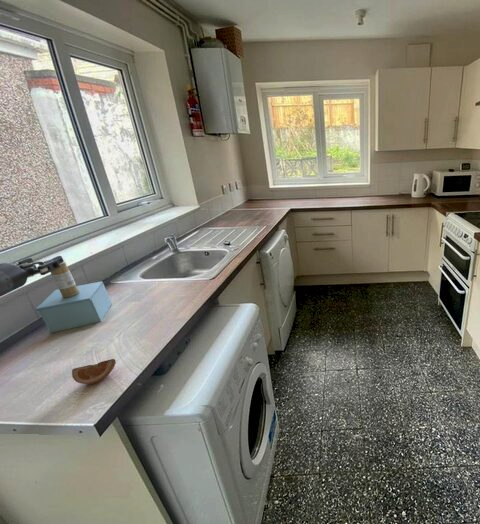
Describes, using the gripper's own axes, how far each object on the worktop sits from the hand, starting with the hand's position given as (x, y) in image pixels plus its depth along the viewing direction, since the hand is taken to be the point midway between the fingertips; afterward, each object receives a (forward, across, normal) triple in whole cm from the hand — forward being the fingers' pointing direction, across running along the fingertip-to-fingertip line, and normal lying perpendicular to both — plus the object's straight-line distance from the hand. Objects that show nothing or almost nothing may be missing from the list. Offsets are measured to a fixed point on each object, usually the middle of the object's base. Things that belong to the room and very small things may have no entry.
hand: (46, 259), depth 90 cm
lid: (+3, 0, +15) cm, 15 cm away
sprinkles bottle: (+2, 0, +14) cm, 14 cm away
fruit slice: (-31, -27, +24) cm, 47 cm away
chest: (+3, 0, +24) cm, 24 cm away
